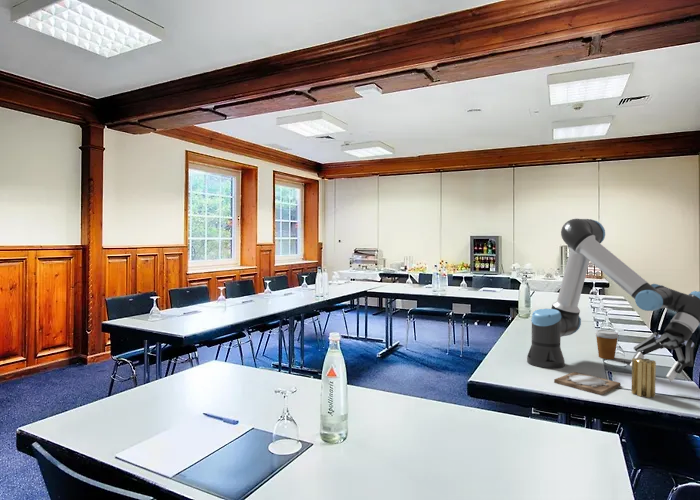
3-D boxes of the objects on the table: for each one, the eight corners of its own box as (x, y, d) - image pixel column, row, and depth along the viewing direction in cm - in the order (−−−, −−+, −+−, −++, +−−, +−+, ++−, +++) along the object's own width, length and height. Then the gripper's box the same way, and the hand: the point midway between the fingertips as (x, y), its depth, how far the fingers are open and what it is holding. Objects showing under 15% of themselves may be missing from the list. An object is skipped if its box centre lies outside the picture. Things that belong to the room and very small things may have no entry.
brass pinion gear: (628, 393, 157) (628, 359, 157) (636, 389, 161) (636, 356, 161) (650, 399, 152) (651, 364, 151) (658, 394, 156) (659, 361, 155)
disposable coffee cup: (610, 361, 198) (610, 334, 198) (590, 356, 206) (590, 330, 206) (623, 358, 202) (623, 332, 202) (602, 354, 211) (603, 329, 210)
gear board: (554, 382, 169) (554, 378, 169) (574, 374, 178) (574, 370, 178) (601, 395, 155) (601, 390, 155) (620, 385, 165) (620, 381, 165)
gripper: (724, 342, 149) (692, 391, 145) (653, 328, 173) (623, 369, 169) (713, 327, 147) (680, 376, 143) (643, 315, 171) (613, 357, 167)
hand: (649, 373), depth 156 cm, fingers open, 13 cm apart
